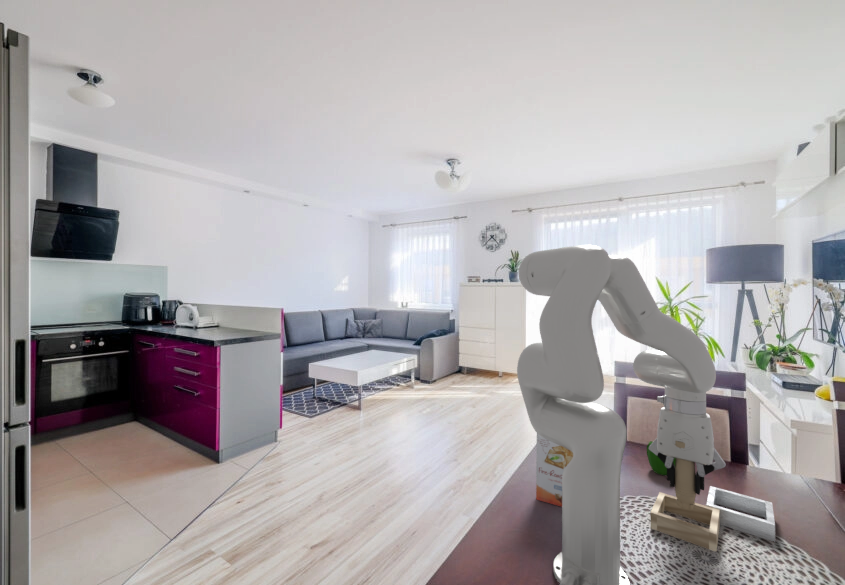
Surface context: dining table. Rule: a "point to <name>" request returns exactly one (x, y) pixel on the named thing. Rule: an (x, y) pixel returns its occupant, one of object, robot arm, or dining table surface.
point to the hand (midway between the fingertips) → (685, 487)
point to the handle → (684, 481)
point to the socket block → (740, 519)
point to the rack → (683, 528)
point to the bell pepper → (657, 462)
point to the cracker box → (550, 470)
